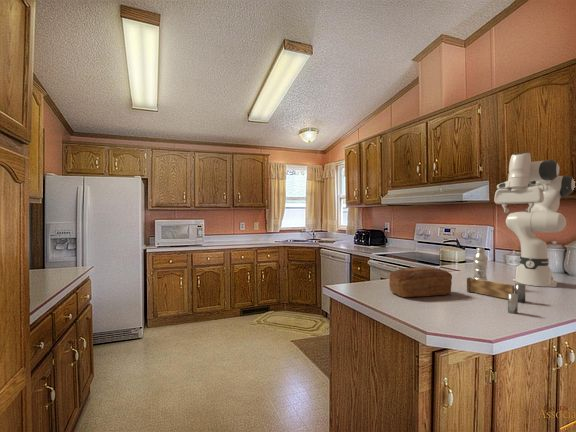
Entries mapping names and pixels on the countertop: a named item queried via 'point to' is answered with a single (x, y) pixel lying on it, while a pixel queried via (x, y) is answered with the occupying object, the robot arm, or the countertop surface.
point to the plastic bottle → (480, 264)
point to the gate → (489, 288)
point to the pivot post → (520, 292)
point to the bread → (420, 282)
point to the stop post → (512, 303)
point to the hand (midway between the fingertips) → (517, 212)
